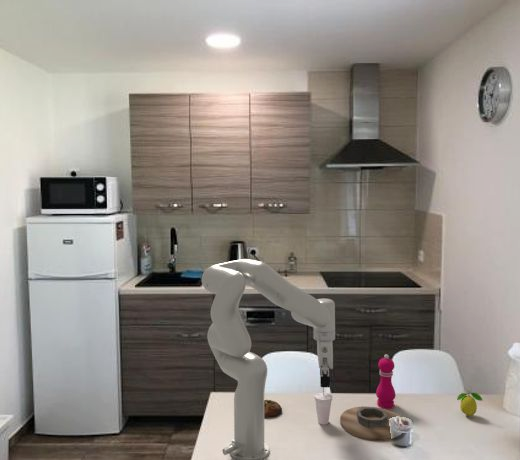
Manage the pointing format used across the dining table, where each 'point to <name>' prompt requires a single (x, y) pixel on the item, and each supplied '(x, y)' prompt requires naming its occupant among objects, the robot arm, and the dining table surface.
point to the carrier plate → (367, 422)
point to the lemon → (469, 403)
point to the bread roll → (271, 408)
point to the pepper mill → (385, 384)
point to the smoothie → (323, 407)
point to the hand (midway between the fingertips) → (324, 381)
